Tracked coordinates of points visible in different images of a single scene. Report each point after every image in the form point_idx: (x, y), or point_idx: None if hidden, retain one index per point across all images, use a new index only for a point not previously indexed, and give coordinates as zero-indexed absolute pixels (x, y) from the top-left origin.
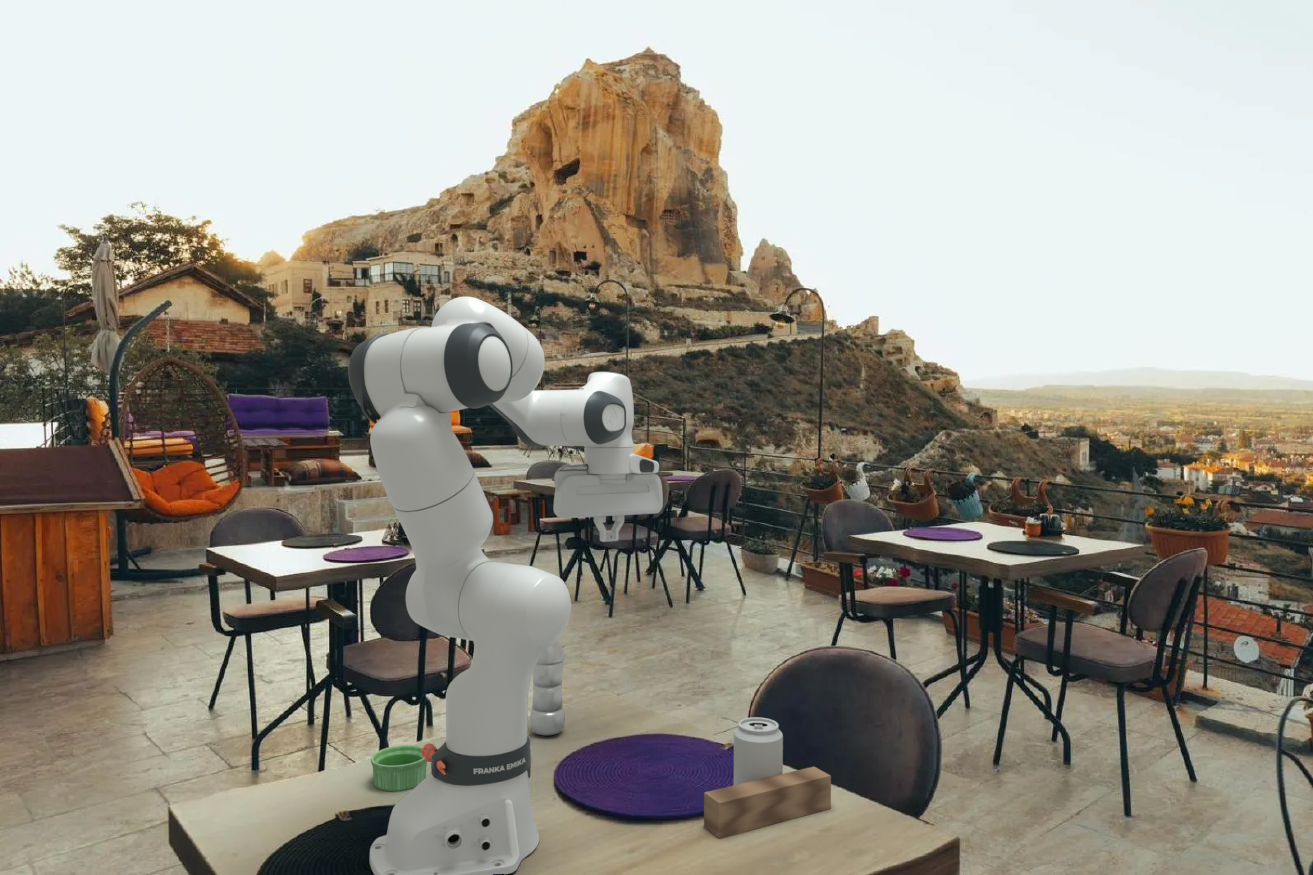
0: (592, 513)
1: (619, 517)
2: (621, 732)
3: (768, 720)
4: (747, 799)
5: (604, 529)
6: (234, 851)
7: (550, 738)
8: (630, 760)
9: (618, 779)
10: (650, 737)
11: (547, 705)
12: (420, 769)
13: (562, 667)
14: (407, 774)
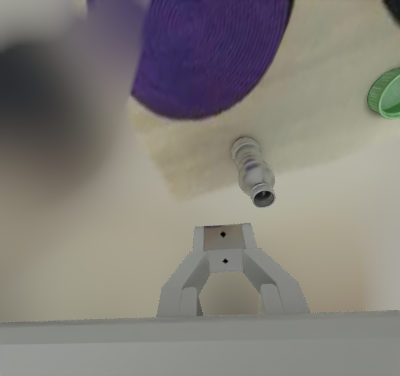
0: (392, 331)
1: (184, 308)
2: (188, 129)
3: None
4: None
5: (257, 256)
6: None
7: None
8: (201, 59)
9: (228, 12)
10: (168, 109)
11: (253, 147)
12: (393, 74)
13: (243, 165)
14: None
